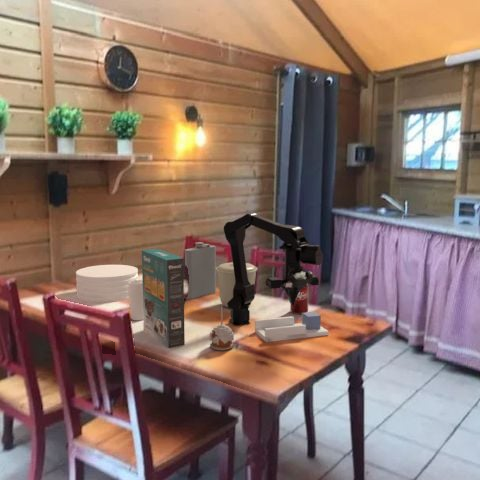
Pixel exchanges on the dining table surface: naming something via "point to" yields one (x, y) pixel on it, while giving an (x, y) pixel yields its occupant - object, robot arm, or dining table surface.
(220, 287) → the canister
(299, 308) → the soda can
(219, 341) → the decorative ornament
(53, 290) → the dining table surface
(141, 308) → the white cylinder
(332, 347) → the dining table surface
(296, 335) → the trap channel
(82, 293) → the plate stack
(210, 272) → the flask
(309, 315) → the blue-gray block
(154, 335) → the cake mix box
